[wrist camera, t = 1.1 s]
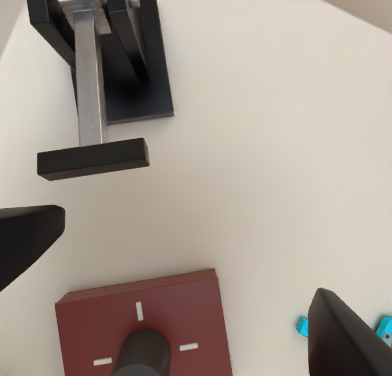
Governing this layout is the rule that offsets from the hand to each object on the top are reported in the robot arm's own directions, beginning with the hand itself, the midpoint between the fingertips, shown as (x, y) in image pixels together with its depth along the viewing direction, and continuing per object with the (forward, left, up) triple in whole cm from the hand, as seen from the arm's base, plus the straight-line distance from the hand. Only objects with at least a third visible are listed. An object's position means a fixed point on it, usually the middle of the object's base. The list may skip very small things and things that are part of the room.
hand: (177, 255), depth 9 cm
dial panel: (-4, -10, -15) cm, 19 cm away
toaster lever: (-3, +9, -7) cm, 12 cm away
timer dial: (-4, -10, -13) cm, 17 cm away
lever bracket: (-3, +14, -15) cm, 21 cm away
